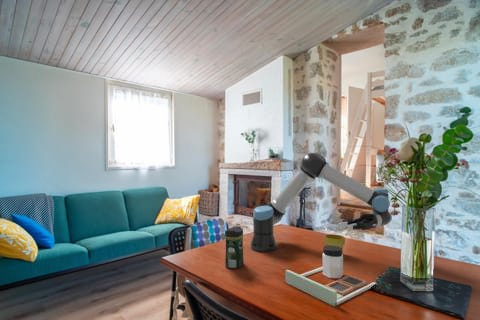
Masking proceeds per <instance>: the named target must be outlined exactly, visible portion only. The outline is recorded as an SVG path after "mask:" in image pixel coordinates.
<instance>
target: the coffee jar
mask: <svg viewBox="0 0 480 320" xmlns="http://www.w3.org/2000/svg"><path fill="white" fill-rule="evenodd" d="M224 237H225V238H224V239H225V267H227V268H229V269H231V270H232V269H233V270H234V269H239V268H240V267H242V265H243V264H244V263H245V261H244V245H243V244H244V242H243V241H244V230H243V228H242V227H241V226H235V225H234V226H232V227H229V228H228V229H226V230H225V231H224Z"/></svg>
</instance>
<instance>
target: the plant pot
mask: <svg viewBox="0 0 480 320" xmlns="http://www.w3.org/2000/svg"><path fill="white" fill-rule="evenodd" d="M324 242H325V244H326V245H325V246H327V245H333V246H338V247H341V248H342V251H343V250H344V245H345V244H346V237H345V236H344V235H341V234H336V233H335V234H334V233H330V234H326V235H324Z"/></svg>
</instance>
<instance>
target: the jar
mask: <svg viewBox="0 0 480 320" xmlns="http://www.w3.org/2000/svg"><path fill="white" fill-rule="evenodd" d="M322 250H323V251H322V252H323V253H321V254H322V255H321V256H322V267H323V270H322V275H323V276H325V277H327V278H329V279H341V278H343V275H344V254H343V250H342V248H341V247H338V246H333V245H324V246H323V249H322Z"/></svg>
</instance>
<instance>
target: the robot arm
mask: <svg viewBox="0 0 480 320" xmlns="http://www.w3.org/2000/svg"><path fill="white" fill-rule="evenodd" d="M316 178H317V179H322V180H324V181H326V182H328V183H330V184H332V185H333V186H335V187H337V188H338V189H340V190H342V191H344V192H346V193H347V194H349V195H351V196H353V197H355V198H356V199H358V200H360V201H362V202H363V203H364V204H367V205H368V206H370V207H371V208H372V212H367V213H364V214H362V215H360V217H357V218H354V217H350V218H347V219H342V221H341V222H339V223H337V229H338V230H342V229H346V230H347V232H352V231H356V230H362V231H365V230H370V229H375V228H378V227H382V226H385V225H389V224H390V223H391V222H392V221H393V220H392V219H393V216H392V214H391V212H390V211H389V208H390V206H391V201H390V199H389V195H390V194H389V190H388V189H387V188H379V187H378V188H373V189H372V188H370V187H368V186H367V185H365V184H363V183H361V182H360V181H358V180H356V179H354V178H352V177H350V176H349V175H347V174H345V173H343V172H341V171H339V170H337V169H336V168H334V167H332V166H331V165H329V162H327V159H326V158H325V157H324V155H322V154H321V153H318V152H310V153H307V154H305V155H304V156H303V157H302V159H301V163H300V165H299V166H298V171H297V172H296V174H295V175H294V176H293V177H292V178H291V180H290V181H289V182H288V184H287V185H285V187H284V188H283V189H282V190H281V192H280V193H279V194H278V195H277V197H276V198H275V199H271V200H270V201H269V202H268V204H266V205H261V206H256V207H255V208H254V209H253V213H252V216H253V217H252V219H253V221H252V222H253V224H252V225H253V226H252V227H253V234H252V238H251V241H250V249H251V250H253V251H256V252H262V253H265V252H268V253H269V252H273V251H276V250H277V247H278V246H277V240H276V238H275V235H274V226H275V225H276V224H278V223H280V221H281V220H282V219H283V216H284V215H286V213H287V208H288V207H289V206H290V204H291V203H292V202H293V201H294V200H295V199H296V198H297V196H298V195H299V194H300V193H301V191H303V189H304V188H305V187H306V186H307V185H308V183H309V182H310V181H312V180H315V179H316Z"/></svg>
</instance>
